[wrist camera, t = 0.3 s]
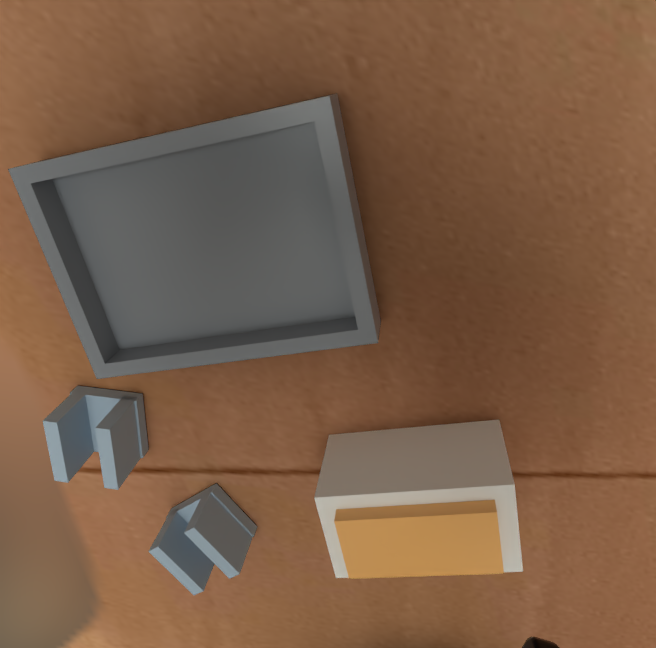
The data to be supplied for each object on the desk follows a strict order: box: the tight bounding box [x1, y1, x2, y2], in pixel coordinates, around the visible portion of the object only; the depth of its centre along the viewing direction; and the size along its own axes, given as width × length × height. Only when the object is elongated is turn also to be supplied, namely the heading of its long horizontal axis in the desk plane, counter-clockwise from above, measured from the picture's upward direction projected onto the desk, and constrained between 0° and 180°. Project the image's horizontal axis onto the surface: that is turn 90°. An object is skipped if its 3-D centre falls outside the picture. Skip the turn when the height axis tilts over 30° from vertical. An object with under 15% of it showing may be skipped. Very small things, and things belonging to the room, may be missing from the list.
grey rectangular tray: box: [8, 93, 381, 379], centre depth 20 cm, size 8×11×2 cm
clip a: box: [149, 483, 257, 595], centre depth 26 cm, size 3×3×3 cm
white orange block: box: [314, 420, 523, 579], centre depth 22 cm, size 4×7×5 cm, turn 102°
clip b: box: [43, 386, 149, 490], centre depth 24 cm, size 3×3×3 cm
